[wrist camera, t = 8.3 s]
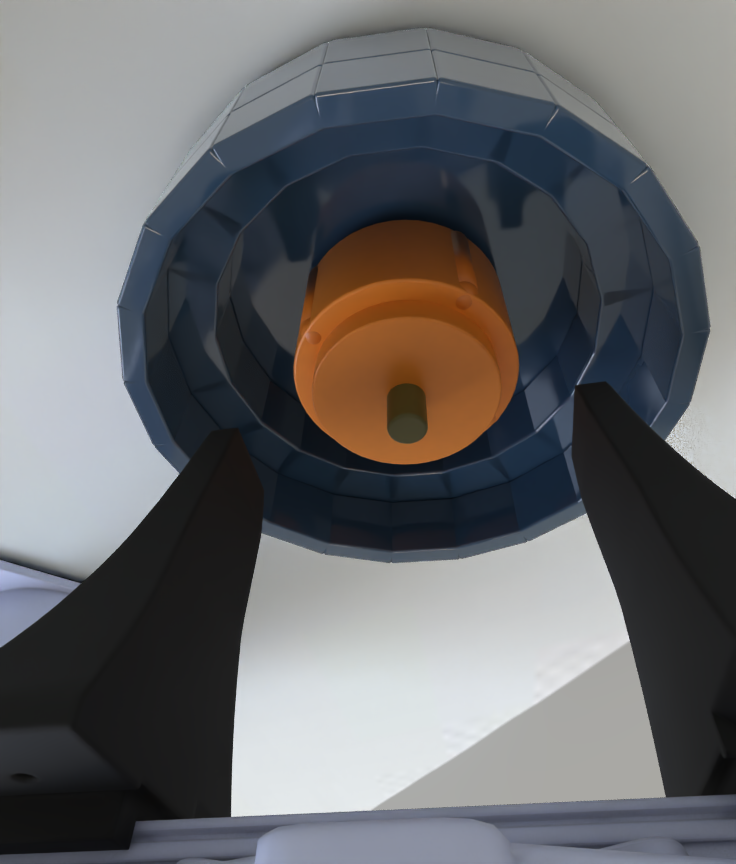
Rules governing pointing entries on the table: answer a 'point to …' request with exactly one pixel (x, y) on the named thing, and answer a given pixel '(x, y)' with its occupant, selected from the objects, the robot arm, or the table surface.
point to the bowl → (425, 201)
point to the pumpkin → (405, 343)
